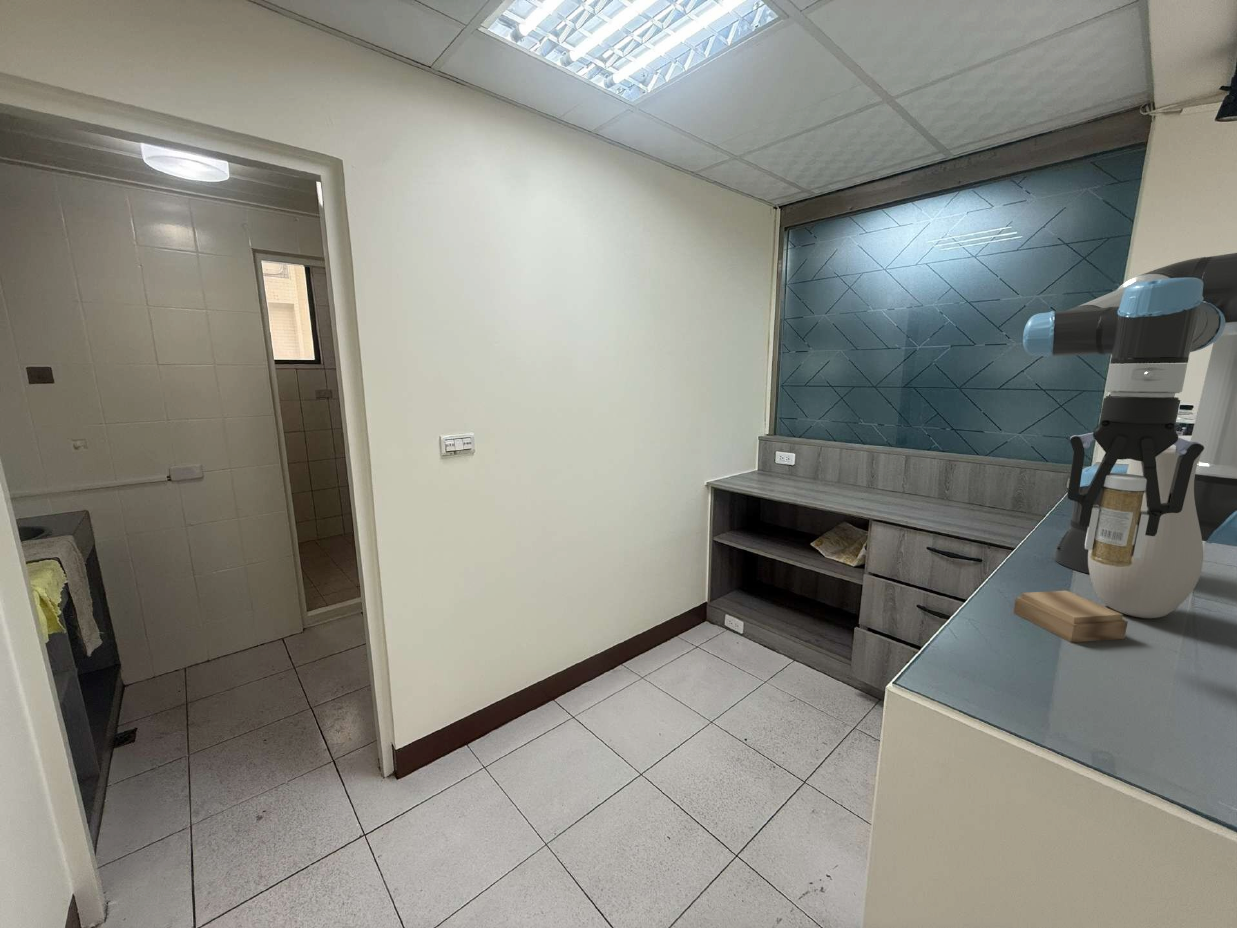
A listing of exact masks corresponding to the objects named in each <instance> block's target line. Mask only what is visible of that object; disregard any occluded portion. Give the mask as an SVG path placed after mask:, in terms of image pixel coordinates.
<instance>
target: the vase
mask: <svg viewBox="0 0 1237 928" xmlns="http://www.w3.org/2000/svg"><path fill="white" fill-rule="evenodd" d="M1175 450H1176V446H1170V447H1169V448H1168V449H1166V450H1165V451H1163V452H1162V453H1161V454H1159V455H1158V456H1156V457H1155V458H1156V466H1157V467H1156V469H1157V477H1158V485H1159V492H1160V500H1161V503H1167V500H1168V496H1169V492H1170V488H1171V484H1172V480H1173V475H1174V471H1175V467H1176V463H1177V459H1178V457H1179V455H1178V454H1177V453H1176V452H1175ZM1200 456H1201V454H1200V455H1199V456H1198V457H1197V458H1196V459H1195V461H1194V463H1193V467H1192V471H1191V475H1190V479H1189V484H1188V488H1187V492H1186V496H1185V500H1184V504H1183V508H1182V511H1181V512H1179V513H1166V514H1163V515H1161V517H1160V520H1159V525H1158V530H1157V534H1156V535H1155V536H1147V535H1145V538H1144V543H1143V548H1142V553H1141V558H1135V557H1133V556H1132V559H1131V561H1132V564H1131V565H1130V566H1128V567H1116V566H1111V565H1105V564H1101V563H1099V562H1096V561H1094V560H1092V559H1091V558H1090V554H1091V553H1092V550H1089V551H1088V567H1089V573H1090V574H1089V577H1090V580H1091V584H1092V586H1093V589H1094V591H1095V593H1096V594H1097V596H1098V598H1099V600H1100V601H1101V602H1103V603H1104V605H1106V606H1107V608H1108V607H1109V609H1111V610H1114V611H1116V612H1118V613H1121V614H1123V615H1127V616H1130V617H1135V618H1142V619H1157V618H1161V617H1165V616H1167V615H1168V614H1170V613H1172V612H1173V611H1175V610H1176V609H1177V608H1179V606H1180V605H1181V604H1183V603H1184V602H1185V601H1186V600H1187V598H1188V597H1189V596H1190V595H1191V594H1192V592H1193V590H1195V588H1196V586H1197V583H1198V581H1199V580H1200V577H1201V574H1202V570H1203V564H1204V563H1203V562H1204V545H1203V541H1202V537H1201V531H1200V526H1199V522H1198V517H1197V512H1196V506H1195V499H1194V478H1195V472H1196V468H1197V465H1198V461H1199V459H1200ZM1128 465H1129V466H1128V470H1127V473H1126V474H1134V475H1140V476H1143V471H1142V465H1141V461H1136V460H1133V459H1129V462H1128ZM1147 509H1148V508H1147V502H1146V494H1145V493H1144V494H1143V500H1142V506H1141V511H1147Z"/></svg>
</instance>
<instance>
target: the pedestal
mask: <svg viewBox="0 0 1237 928" xmlns="http://www.w3.org/2000/svg"><path fill="white" fill-rule="evenodd" d="M1014 600H1015V602H1014V607H1013V614H1015V615H1016V616H1019V617H1021V618H1023V619H1025V620H1026V621H1028V622H1031V623H1032V624H1034V625H1037V626H1038V627H1040V628H1042V629H1044V630H1046V631H1048V632H1050V633H1052V634H1053V635H1055V636H1058V637H1060V638H1061V639H1063V640H1065V641H1067V642H1069V643H1082V642H1083V643H1085V642H1093V641H1094V642H1096V641H1110V640H1120V639H1125V637H1126V632H1127V628H1128V627H1127V626H1128V623H1129V622H1128V621H1127V620H1125V619H1123V616H1124V614H1123V613H1120V612H1118V611H1116V610H1113V609H1112V608H1110V607H1109V608H1108V607H1106V606H1104V605H1102V604H1099V603H1097V602H1094V601H1092V600H1090V599H1087V598H1085V597H1082V596H1080V595H1077V594H1075V593H1073V592H1070V591H1069V590H1052V591H1048V590H1047V591H1036V592H1035V591H1033V592H1032V591H1031V592H1021V596H1016V597H1015V599H1014Z"/></svg>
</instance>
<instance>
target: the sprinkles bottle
mask: <svg viewBox="0 0 1237 928" xmlns="http://www.w3.org/2000/svg"><path fill="white" fill-rule="evenodd" d="M1146 483H1147V479H1145V477H1144V476H1140V475H1134V474H1126V473H1110V474H1109V475H1107V476H1106V479H1105V483H1104V485H1103V487H1102V488H1103V492H1102V497H1101V502H1100V505H1099V508H1100V510H1099V515H1098V520H1097V526H1096V531H1095V537H1094V542H1093V548H1092V553H1091V554H1090V558H1091V559H1092V560H1094V561H1096V562H1099V563H1101V564H1105V565H1111V566H1116V567H1128V566H1130V565H1131V564H1132V561H1131V559H1132V554H1133V548H1134V544H1135V541H1136V536H1137V531H1138V522H1139V516H1140V511H1141V506H1142V500H1143V494H1144V493H1145V490H1146Z"/></svg>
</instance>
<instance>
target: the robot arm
mask: <svg viewBox="0 0 1237 928" xmlns="http://www.w3.org/2000/svg"><path fill="white" fill-rule="evenodd" d="M1022 345H1023V349H1024V351H1025V352H1026V354H1028V355H1029V356H1033V357H1049V358H1053V357H1064V356H1067V357H1068V356H1091V355H1092V356H1093V355H1095V356H1096V355H1102V356H1103V355H1111V357H1110V362H1109V367H1108V372H1107V378H1106V383H1105V388H1104V390H1105V391H1106V392H1107V393H1110V394H1109V395H1106V396H1105V397H1103V400H1102V405H1101V411H1100V418H1099V421H1098V425H1097V426H1096V427H1095V428H1094V429H1093V431H1092V432H1088V433H1085V434H1079V435H1078V434H1073V435H1071V436H1070V438H1069V439H1070V444H1071V447H1072V450H1073V452H1072V453H1073V454H1072V461H1071V466H1070V474H1069V481H1068V488H1067V498H1068V500H1070V501H1073V504H1072V505H1073V506H1072V512H1071V517H1070V522H1069V528H1068V529H1067V531H1065V534H1064V535H1063V537H1062V538H1061V540H1060V542H1059V543H1058V545H1057V546H1056V547H1055V549H1054V552H1053V553H1054V555H1053V560H1054V561H1055V562H1057V563H1058V564H1060V565H1062V566H1064V567H1067V568H1068V569H1072V570H1075V571H1077V572H1081V573H1085V574H1088V575H1090V573H1089V567H1088V551H1089V550H1092V548H1093V542H1094V537H1095V531H1096V526H1097V520H1098V515H1099V510H1100V508H1099V505H1100V502H1101V497H1102V492H1103V488H1102V487H1103V485H1104V483H1105V479H1106V476H1107V475H1109V474H1110V473H1127V470H1128V466H1129V464H1117V461H1118V460H1120V461H1121V460H1122V461H1123V460H1130V459H1133V460H1136V461H1141V465H1142V471H1143V476H1144V477H1145V479H1147V483H1146V490H1145V494H1146V502H1147V508H1148V509H1147V511H1140V516H1139V522H1138V531H1137V536H1136V541H1135V544H1134V548H1133V554H1132V556H1133V557H1135V558H1141V553H1142V548H1143V543H1144V538H1145V535H1147V536H1155V535H1156V534H1157V530H1158V525H1159V520H1160V517H1161V515H1163V514H1166V513H1179V512H1181V511H1182V508H1183V504H1184V500H1185V496H1186V492H1187V488H1188V484H1189V479H1190V475H1191V471H1192V467H1193V463H1194V461H1195V459H1196V458H1197V457H1198V456H1199V455H1200V454H1201V456H1200V459H1199V461H1198V465H1197V468H1196V472H1195V478H1194V499H1195V506H1196V512H1197V517H1198V522H1199V526H1200V531H1201V537H1202V542H1205V543H1207V544H1217V545H1222V546H1223V545H1224V546H1231V547H1237V252H1234V253H1233V252H1232V253H1227V254H1226V253H1225V254H1219V255H1213V256H1212V255H1211V256H1203V257H1196V258H1190V259H1187V260H1182V261H1177V262H1175V263H1171V264H1168V265H1165V266H1162V267H1159V268H1155V269H1153V270H1150V271H1148V272H1144V273H1142V274H1140V275H1138V276H1135V277H1133V278H1131V279H1128V280H1126V281H1125V282H1124V283H1122V284H1121V285H1120V286H1119V287H1118V288H1117V289H1116V290H1114V291H1112V292H1110V293H1107V294H1105V295H1101V296H1099V297H1097V298H1095V299H1092V300H1090V301H1088V302H1085V303H1082V304H1079V305H1078V306H1075V307H1072V308H1070V309H1067V310H1059V311H1058V310H1057V311H1055V310H1051V311H1049V312H1041V313H1036V314H1033V315H1032V316H1031V317H1029V319H1028V321H1027V322H1026V324H1025V326H1024V330H1023V335H1022ZM1210 345H1212V347H1211V350H1210V351H1211V352H1210V356H1209V359H1208V364H1207V369H1206V372H1205V377H1204V381H1203V386H1202V390H1201V394H1200V399H1199V404H1198V408H1197V412H1196V415H1195V421H1194V423H1193V429H1192V433H1191V437H1190V440H1186V439H1184V438H1181V437H1179V434H1178V432H1177V431H1176V423H1177V419H1178V418H1177V417H1178V415H1179V410H1180V405H1181V400H1180V398H1179V397H1175V395H1176V394H1180V393H1182V392H1183V390H1184V383H1185V378H1186V373H1187V368H1188V363H1189V359H1190V358H1189V357H1190V354H1191V353H1193V352H1197V351H1201V350H1203V349H1205V348H1207V347H1209V346H1210ZM1092 441H1096V442H1097V444H1098V445H1099V446H1100V447H1101V449H1102V450H1103V451H1104V455H1103V456H1102V459H1101V462H1100V464H1099V465H1098V464H1097V465H1091V466H1090V465H1089V466H1086V467H1084V461H1085V453H1086V452H1085V449H1088V448H1090V446H1091V443H1092ZM1173 446H1174V447H1176V450H1175V452H1176V453H1177V454H1178V455H1179V457H1178V459H1177V463H1176V467H1175V471H1174V475H1173V480H1172V484H1171V488H1170V492H1169V496H1168V500H1167V503H1161V500H1160V492H1159V485H1158V477H1157V469H1156V467H1157V466H1156V458H1155V457H1156V456H1158V455H1159V454H1161V453H1162V452H1163V451H1165V450H1166V449H1168V448H1169V447H1173ZM1083 467H1084V468H1083Z"/></svg>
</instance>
